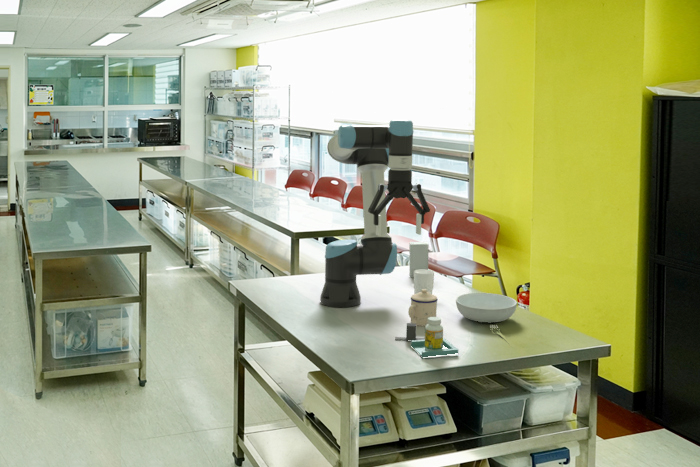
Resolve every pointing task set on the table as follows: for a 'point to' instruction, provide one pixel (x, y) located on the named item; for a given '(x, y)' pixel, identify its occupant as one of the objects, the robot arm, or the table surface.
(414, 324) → the clip posts
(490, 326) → the fork
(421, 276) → the white cup
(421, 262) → the skincare box
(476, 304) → the serving bowl
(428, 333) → the supplement bottle
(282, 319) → the table surface
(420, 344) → the open-sided tray holder
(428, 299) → the teacup with lid
